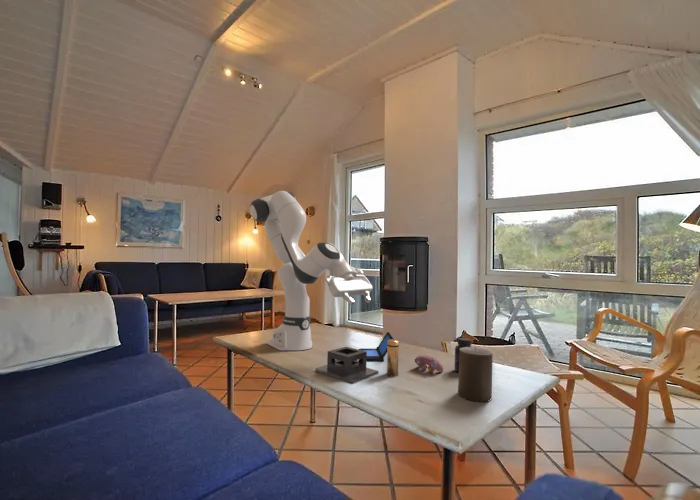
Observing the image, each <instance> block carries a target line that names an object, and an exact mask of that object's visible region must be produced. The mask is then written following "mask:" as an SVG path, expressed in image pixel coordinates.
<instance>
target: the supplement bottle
mask: <svg viewBox="0 0 700 500" xmlns="http://www.w3.org/2000/svg"><path fill="white" fill-rule="evenodd" d="M463 347H472V339H471V338H468V337H467V338H466V337H459V338H457V344H456V345H455V346H454V367H453V368H454V369H453V370H454V371H455V372H456V373H458V374H459V350H460V348H463Z"/></svg>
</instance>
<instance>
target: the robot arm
mask: <svg viewBox="0 0 700 500" xmlns="http://www.w3.org/2000/svg"><path fill="white" fill-rule="evenodd" d="M249 211H250V215H251V217H252V219H253V220H254V221H255V222H257V223H264V228H265V232H266V234H267V238H268V240H269V243H270V245H271V247H272V249H273V251H274V253H275V255H276V257H277V258H278V259H279V260H280V261H281V262H282V263H283V265H281V266H280V267H279V269H278V271H277V279H278V281H279V282H280V284H281V285H282V288H283V292H284V300H285V301H284V302H285V305H284V307H285V308H284V310H285V311H284V312H285V313H284V316H283V317H281V320H282V321H281V322H282V323H281V324H280V325H279V326H278V327H276V329H274V331H273V332H272V337H271V338H272V339H271V340H268V341H267V342H266V345H268V346H271V348H274V349H276V350H278V351H303V350H304V351H305V350H308V349H312V347H313V341H312V331H311V326H310V324H311V315H310V309H311V308H310V307H311V306H310V304H311V303H310V302H311V301H310V300H311V299H310V297H309V295H308V293H307V287H306V286H307V285H312V284H313V285H314V284H315V282H317V280H318V279H319V278H320V276H321V275H322V274H324V272H326V271H328V272H329V275H328V276H325V277H326V278H325V282H326V284H327V287H328V290H329V291H330V293H331V296H333V297H334V298H342V299H343V300H344V301H345V302H347V303H348V305H350V306H351V305H354V303H355V300H354V298H352V297H354V296H363V297H364V298H365V299H364V301H365V302H366V304H367V303H371V301H372V299H371V297H370V293H371V292H372V291H373V288H374V287H373V285H372V283H371V282H370V280H369V279H368V278H367V276H366V275H364V271H363V270H362V269H360V268H357V267H354V266H352V265H350V264H349V263H348V262H347V261H346V260H345V259H346V258H345V256H344V255H343V254H342V253H341V251H340V250H339V248H337V246H336V245H334V244H333V243H331V242H318V243H316V244H314V246H313V247H312V248H311V249H310V250H309V252H308V253H307V254H306V255H305V253H304V252H303V250H302V249H301V248H300V246H299V240H300V237H301V234H302V232H303V230H304V228H305V226H306V223H307V214H306V211H305V209H303V207H302V206H301V204H300V203H299V202H298V200H297V197H296V195H295V194H293V192H290V191H286V190H279V191H276V192H275V193H273V194H270V195H267V196H263V197H261V198H256V199H254V200H253V201H251V203H250V205H249Z"/></svg>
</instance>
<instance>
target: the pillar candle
mask: <svg viewBox="0 0 700 500" xmlns="http://www.w3.org/2000/svg"><path fill="white" fill-rule="evenodd" d="M493 357H494V355H493V352H492V350H489V349H485V348H480V347H476V346H473V347H472V346H471V347H463V348H460V350H459V373H458V381H457V382H458V383H457V385H458V386H457V393H458V395H459V396H460V397H461V398H463V399H466V400H469V401H472V402H476V401H481V402H480V403H483V402H482V401H487V402H489V401H488V400H490V399H491V398H492V397H493V395H492V394H493ZM491 400H492V399H491ZM491 400H490V401H491Z"/></svg>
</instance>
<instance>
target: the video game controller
mask: <svg viewBox="0 0 700 500" xmlns="http://www.w3.org/2000/svg"><path fill="white" fill-rule="evenodd" d="M414 362H415V364H416V366H417V367H419V368H420V369H422V370H423V371H426V370H427V369H428V371H429V372H430V373H434V372H435V371H437V372H439V373H442V372H443V371H444V367H443V365H442V364H441V362H439V360H438V359H437V358H435V357H432V356H429V355H428V354H426V355H425V354H423V355H422V354H419V355H417V356H416V357H415V358H414Z"/></svg>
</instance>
